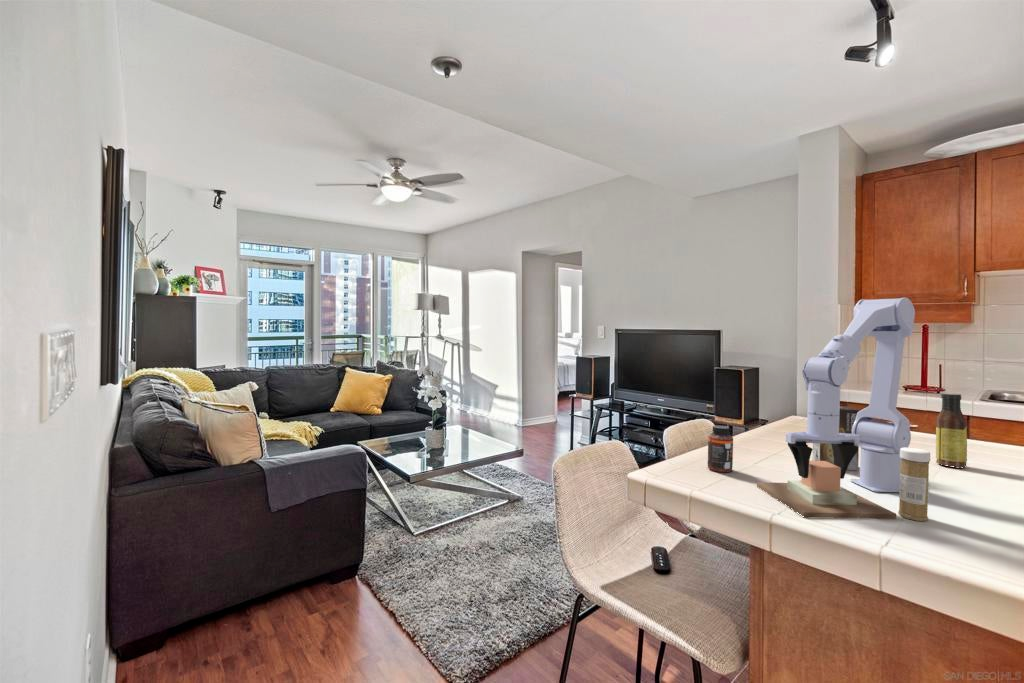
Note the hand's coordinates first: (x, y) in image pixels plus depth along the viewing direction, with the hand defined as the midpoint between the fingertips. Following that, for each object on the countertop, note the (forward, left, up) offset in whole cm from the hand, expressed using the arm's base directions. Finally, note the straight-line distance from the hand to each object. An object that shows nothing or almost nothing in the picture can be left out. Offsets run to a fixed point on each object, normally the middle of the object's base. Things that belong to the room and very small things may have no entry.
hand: (821, 476), depth 102 cm
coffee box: (-21, -27, -6) cm, 35 cm away
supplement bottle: (+12, -22, -6) cm, 26 cm away
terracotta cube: (0, 0, -2) cm, 2 cm away
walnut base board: (0, 0, -5) cm, 5 cm away
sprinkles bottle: (-13, +8, -6) cm, 16 cm away
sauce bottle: (-54, -29, -6) cm, 62 cm away
